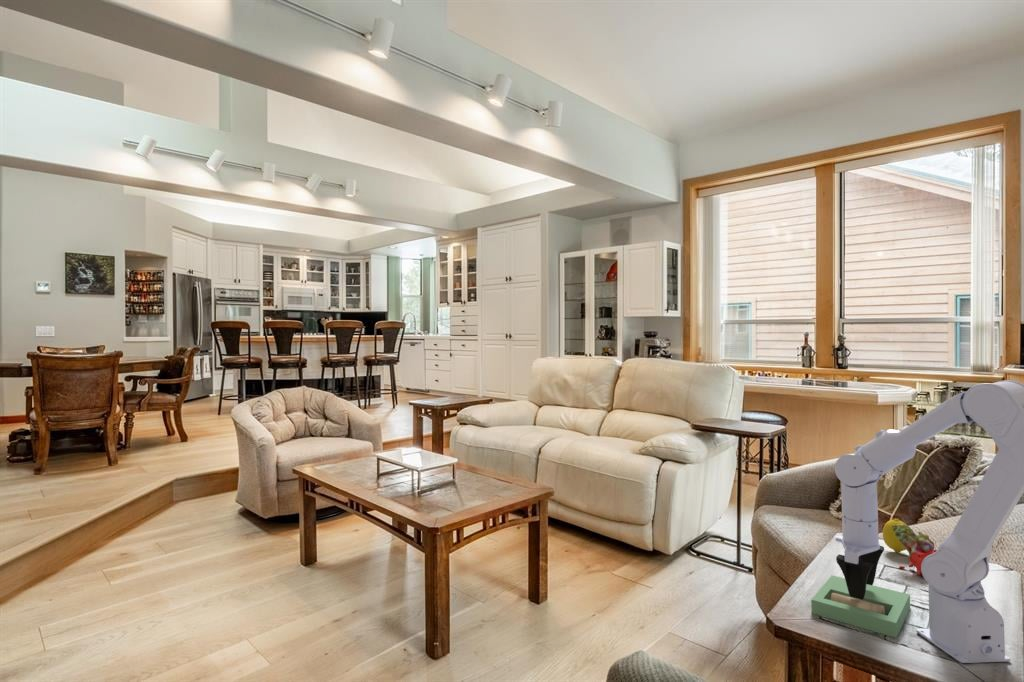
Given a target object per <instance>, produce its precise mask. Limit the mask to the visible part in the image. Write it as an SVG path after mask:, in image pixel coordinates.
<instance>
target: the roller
mask: <svg viewBox="0 0 1024 682" xmlns="http://www.w3.org/2000/svg"><path fill="white" fill-rule="evenodd" d="M830 600H832V601H835V602H839V603H843V604H846V605H850V606H854V607H857V608H861V609H865V610H868V611H872V612H876V613H879V614H883V615H885V608H884V606H882V605H878V604H874V603H870V602H866V601H863V600H859V599H855V598H851V597H847V596H844V595H840V594H836V593H832V594H831V598H830Z"/></svg>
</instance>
